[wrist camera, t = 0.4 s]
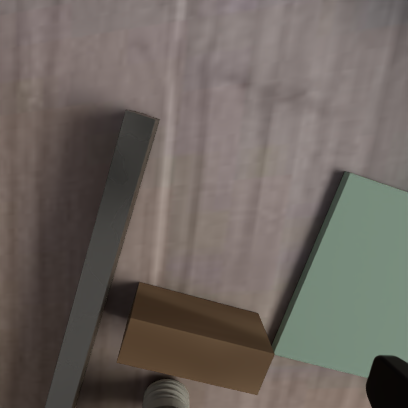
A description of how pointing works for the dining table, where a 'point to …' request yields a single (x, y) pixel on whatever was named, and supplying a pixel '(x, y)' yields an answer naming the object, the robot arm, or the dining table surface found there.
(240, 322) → the cradle
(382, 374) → the robot arm
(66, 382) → the bar
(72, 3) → the dining table surface
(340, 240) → the mat
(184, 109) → the dining table surface
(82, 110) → the dining table surface
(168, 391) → the light bulb
